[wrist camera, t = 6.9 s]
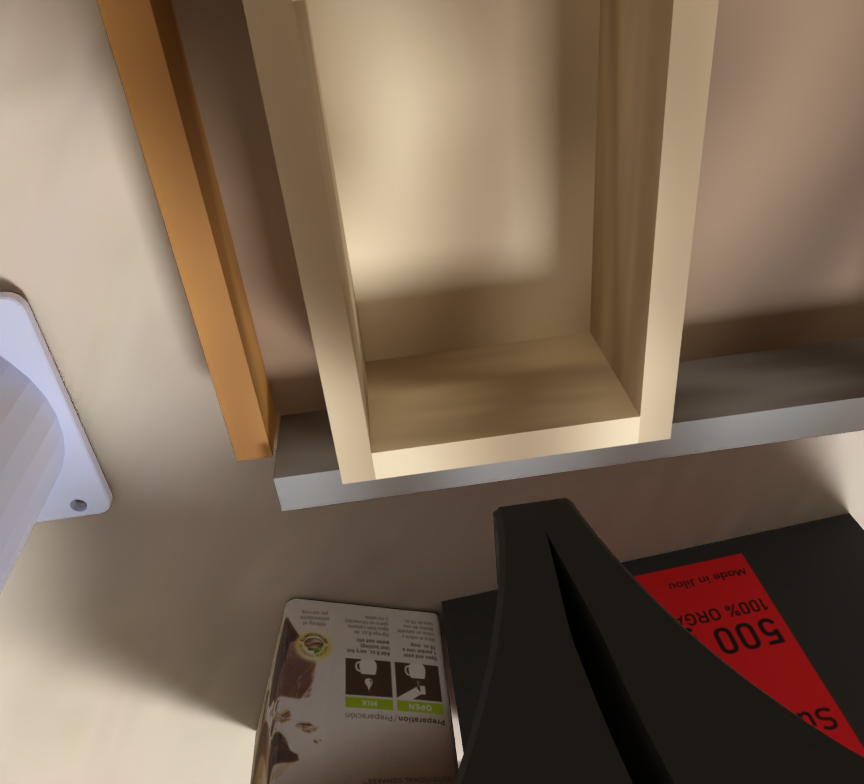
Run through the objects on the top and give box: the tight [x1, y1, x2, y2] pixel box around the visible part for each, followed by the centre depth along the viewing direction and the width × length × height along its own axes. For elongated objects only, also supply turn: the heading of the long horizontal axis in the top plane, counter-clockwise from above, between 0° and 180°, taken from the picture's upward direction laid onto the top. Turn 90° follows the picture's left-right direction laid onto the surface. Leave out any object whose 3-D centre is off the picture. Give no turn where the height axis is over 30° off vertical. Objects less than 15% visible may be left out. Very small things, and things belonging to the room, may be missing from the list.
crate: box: [242, 0, 719, 484], centre depth 17 cm, size 8×11×5 cm
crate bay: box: [97, 0, 864, 511], centre depth 18 cm, size 22×16×6 cm
